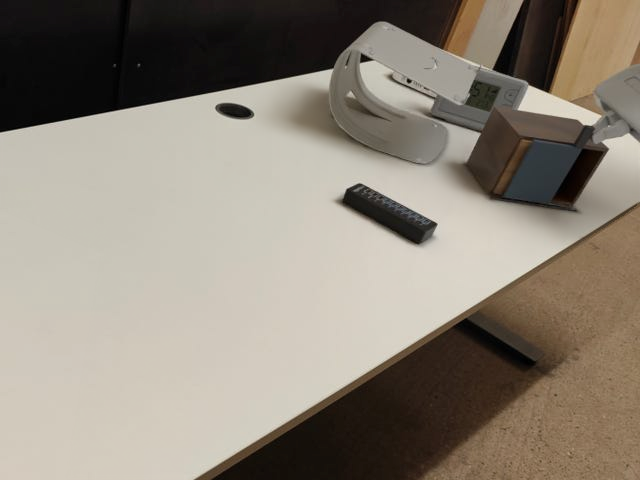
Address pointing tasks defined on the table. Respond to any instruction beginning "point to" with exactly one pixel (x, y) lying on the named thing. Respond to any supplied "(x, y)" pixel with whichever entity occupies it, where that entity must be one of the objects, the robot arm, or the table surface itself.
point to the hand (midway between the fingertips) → (589, 137)
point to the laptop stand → (399, 126)
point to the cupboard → (512, 144)
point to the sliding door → (545, 168)
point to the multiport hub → (389, 213)
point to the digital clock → (482, 99)
